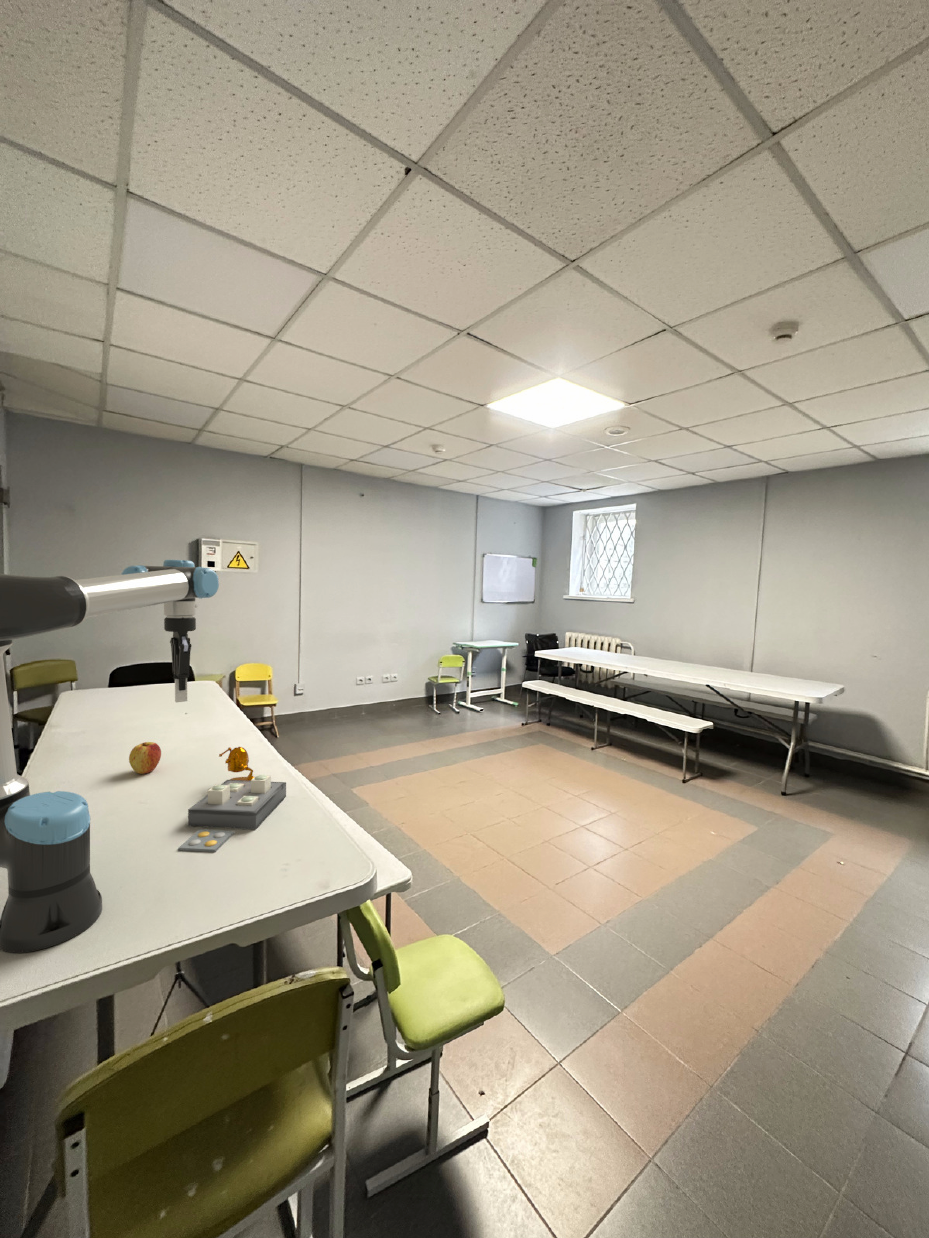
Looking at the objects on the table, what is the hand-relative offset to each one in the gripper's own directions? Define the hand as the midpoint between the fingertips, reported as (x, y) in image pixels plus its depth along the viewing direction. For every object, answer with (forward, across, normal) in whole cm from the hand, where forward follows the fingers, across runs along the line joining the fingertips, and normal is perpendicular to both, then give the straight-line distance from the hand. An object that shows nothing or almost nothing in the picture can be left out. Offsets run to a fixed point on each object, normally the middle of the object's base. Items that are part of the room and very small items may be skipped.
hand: (181, 701), depth 138 cm
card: (+31, -24, 0) cm, 39 cm away
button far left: (+30, -6, -12) cm, 32 cm away
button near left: (+27, -11, -6) cm, 30 cm away
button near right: (+30, -17, -12) cm, 36 cm away
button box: (+31, -11, -12) cm, 35 cm away
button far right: (+27, -11, -18) cm, 34 cm away
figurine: (+31, +8, -18) cm, 37 cm away
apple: (+31, +36, +3) cm, 48 cm away
